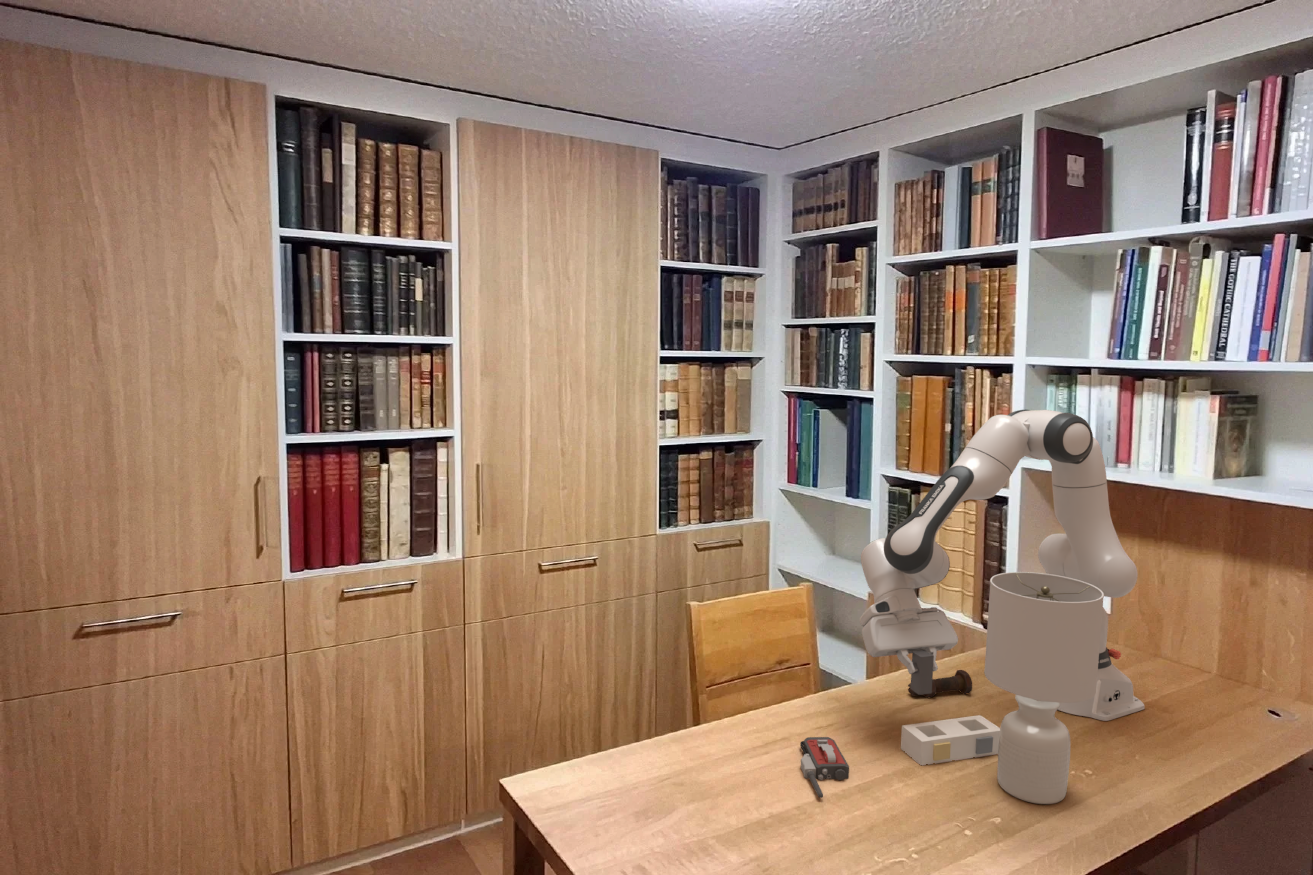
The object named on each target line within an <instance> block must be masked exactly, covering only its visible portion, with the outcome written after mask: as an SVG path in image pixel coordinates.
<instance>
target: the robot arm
mask: <svg viewBox="0 0 1313 875" xmlns="http://www.w3.org/2000/svg"><path fill="white" fill-rule="evenodd" d="M1100 445H1101V444H1100V443H1099V441H1098V439H1096V438H1095V437H1094V435H1093V431H1092V428H1091V426H1090V425H1089V423H1088V422H1087V421H1086V420H1085V418H1082V417H1081V416H1079V415H1077V414H1074V413H1071V412H1061V411H1058V410H1057V411H1056V410H1051V409H1040V410H1035V409H1033V410H1030V409H1020V410H1015V411H1012V412H1010V413H1008V414H996V415H993V416H991V417H990V418H989V419H987V420H986V422H985V423H983V424H982V425H981V427H979V429H978V430H977V431H976V432H975V433H974V435H973V436H972V437H971V439H970V440H969V442H968V443H967V444H966V445H965V447H964V449H963V451H961V453H960V455H959V457H958V458H957V459H956V460H955V461H954V463H953V464H952V465H951V467H950V468H948V469H947V470H946V471H945V472H944V473H943V474H942V475H941V476H940V477H939V478H938V480H937V481H936V482H935V483H934V485H933V486H932V487H931V488H930V490H929V491H928V492H927V493H926V495H925V496H924V497H923V499H922V500H921V501H920V502H919V504H918V505H917V506H916V508H915V509H914V510H913V511H912V512H911V513H910V515H909V516H908V517H907V518H905V519H904V520H903V521H901V522H900V523H898V524H897V525H896V526H894V527H893V528H892V529H891V530H890V531H889V532H888V534H887V535H886V537H885V538H884V537H883V538H882V537H881V538H877V539H875V540H873V541H871V542H869V543H868V544H867V545H866V546H864V548H863V549H862V552H861V554H860V562H861V567H862V572H863V575H864V578H865V580H866V584H867V587H868V588H869V590H870V591H871V593H872V594H873V601H874V603H873V604H872V605H870V606H869V607H868V608H866V610H865V611H864V612H863V613H862V615H861V616H860V617H859V624H860V625H861V627H863V628H862V629H861V635H862V638H863V642H864V643H863V644H864V647H865V649H866V652H867V653H868V654H869V656H871V657H873V658H879V657H880V658H881V657H889V656H891V657H892V656H897V659H898V660H899V662H901V664H903V665H904V667H906V669H907V671H908V673H909V675H911V674H916V673H917V672H919V668H918V667H917V666H918V665H917V663H913V662H912V659H910V657H909V654H912V652H914V651H924V650H925V651H927V652H929V653H930V654H932V655H933V656H934V661H933V673H934V672H936V671H937V670H938V669H939V667H938V664H937V661H936V660H937V653H938V651H948V650H951V649H953V648H954V647H955V646H957V645H958V641H959V637H958V634H957V633H956V631H955V628H954V627H953V625H952V623H951V622H950V620H949V619H948V617H947V615H946V613H945V611H943V610H941V609H939V608H937V607H935V606H934V607H933V606H932V607H923V608H922V607H921V604H920V602H919V599H918V596H917V594H916V592H915V590H917V589H922V588H927V587H929V586H933V585H936V584H938V583H940V582H942V581H943V580H944V579H945V578H946V577H947V575H948V573H949V570H950V566H951V562H950V557H949V555H948V553H947V552H946V551H945V549H944V548H943V547H942V546H941V545H939V543H938V542H936V537H937V534H938V532H939V530H940V529H941V528H942V527H943V525H944V523H946V521H947V520H948V519H949V518H950V516H951V515H952V513H953V512H954V511H955V510H956V508H957V507H958V506H959V505H960V504H961V503H963V502H965V501H968V500H974V501H982V500H988V499H991V498H994V497H995V496H996V495H998V493H999V492H1000V491H1001V490H1002V489H1003V487H1004V486H1005V485H1006V484H1007V482H1008V481H1009V479H1010V478H1011V476H1012V474H1013V473H1014V471H1015V470H1016V468H1017V466H1018V464H1019V462H1020V461H1021V460H1022V459H1023V458H1024V457H1027V458H1029V459H1035V460H1038V461H1040V460H1041V461H1044V460H1045V461H1048V462H1049V463H1050V465H1051V486H1052V487H1051V488H1052V497H1053V498H1052V499H1053V511H1054V516H1055V518H1056V520H1057V522H1058V523H1059V524H1060V525H1061V528H1062V529H1063V531H1064V533H1059V532H1058V533H1052V534H1049V535H1048V536H1046V537H1045V538H1044V539H1043V540H1042V541H1041V543H1040V545H1039V548H1038V551H1037V555H1038V556H1037V557H1038V561H1039V563H1040V564H1041V566H1042V568H1043V569H1044V572H1045V574H1051V575H1058V576H1063V577H1068V578H1072V579H1076V580H1080V581H1083V582H1086V583H1089V584H1091V585H1093V586H1095V587H1097V588H1099V589H1100V590H1101V591H1102V592H1103V593H1104V597H1106V598H1114V599H1115V598H1116V599H1117V598H1122V597H1124V596H1128V594H1129V593H1131V592H1132V591H1133V589H1134V588H1135V586H1136V584H1137V582H1138V581H1137V580H1138V575H1139V574H1138V568H1137V565H1136V564H1135V562H1134V561H1133V559H1131V558H1130V557H1129V555H1128V554H1127V552H1126V550H1125V549H1124V548H1123V546H1122V544H1121V541H1120V539H1119V536H1118V534H1117V532H1116V529H1115V526H1114V524H1113V521H1112V517H1111V511H1110V506H1109V505H1110V502H1109V493H1108V492H1109V490H1108V481H1107V480H1108V479H1107V472H1106V471H1107V470H1106V466H1105V460H1104V456H1103V451H1102V448H1101V446H1100ZM1108 629H1109V616H1108V613H1107V611H1106V609H1105V607H1103V610H1102V623H1101V635H1100V648H1099V660H1098V673H1097V685H1096V694H1095V695H1094V696H1093V697H1092V698H1090V699H1089V700H1085V701H1081V702H1074V703H1060V706H1059V708H1058V709H1057V711H1061V712H1064V713H1066V714H1070V715H1074V716H1075V715H1076V716H1080V717H1082V716H1083V717H1087V718H1092V719H1095V720H1099V721H1104V722H1107V721H1111V720H1115V719H1117V718H1121V717H1124V716H1127V715H1130V714H1133V713H1137V712H1139V711H1142V710H1145V704H1144V702H1142V700H1141V699H1139V698H1138V697H1137V696H1135V695H1134V685H1133V683H1132V680H1131V679H1130V678H1129V677H1128V676H1127V675H1126V674H1125V673H1123V672H1122V671H1121V670H1120V669H1119V668H1117V667H1116V666H1115V665H1114V664H1113V662H1112V659H1111V658H1113V659H1115V660H1119V659H1120V658H1121V657H1122V653H1121V651H1120V650H1117V649H1114V648H1110V649H1109V648H1108V647H1107V642H1108V641H1107V640H1108Z"/></svg>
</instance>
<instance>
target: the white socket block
mask: <svg viewBox="0 0 1313 875" xmlns="http://www.w3.org/2000/svg"><path fill="white" fill-rule="evenodd" d="M1000 728H1001V727H999V726H997V725H996V724H994V723H993V722H992V721H990V720H989V719H987V718H985V717H984V716H982V715H981V714H978V715H972V716H964V717H957V718H949V719H948V718H947V719H942V720H933V721H926V722H920V723H910V724H905V725H901V737H900V738H901V739H900V750H901V751H902V752H904V751H905V752H904V753H905V754H906V753H907V755H908V756H909V757H910V758H911V757H912V758H911V759H912V760H913V761H915V762H916V763H917V764H918V765H919V764H920V766H921V765H922V766H927V765H926V764H928V765H934V764H933V763H935V764H940V763H947V762H953V761H952V760H955V761H961V760H967V759H974V758H973V757H975V758H981V757H986V756H987V757H988V756H992V755H993V756H994V755H998V746H999V735H1000Z"/></svg>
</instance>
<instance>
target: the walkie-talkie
mask: <svg viewBox="0 0 1313 875" xmlns="http://www.w3.org/2000/svg"><path fill="white" fill-rule="evenodd" d="M799 746H800V748H801V750H802V753H803V756H802V757H801V758H800V769H801V771H802V774H803V778H804V779H809V780H810V783H811V785H812V787H813V790H814V791H815V793H816V795H817V797H818V798H821V799H823V797H824V793H823V791H822V789H821V788H820V785H819V783H818V780H820V781H823V780H839V781H841V780H847V779H849V775H850V774H849V773H850V766H849V763H848V762H847V759H846V758H845V756H844V755H843V753H842V752H841V750H840V748H839V746H838V745H837V743H836V741H835V739H833V738H831V737H830V736H813V737H812V736H810V737H806V738H805V739H803V740H802V741H800V744H799Z"/></svg>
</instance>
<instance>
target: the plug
mask: <svg viewBox="0 0 1313 875" xmlns="http://www.w3.org/2000/svg"><path fill="white" fill-rule="evenodd" d="M911 654H912V655H911V661H912V662H913V663H917V665H918V666H917V667H918V668H919V672H917V673H916V674H910V683H911V688H910V689H911V690H913V691H914V692H916V693H917V694H918V696H922V695H921V694H930V693H932V679H933V677H934V676H933V675H934V674H933V673H934V672H933V661H934V656H933V655H932V654H930V653H929V652H927V651H925V650H924V651H914V652H912V653H911Z"/></svg>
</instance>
